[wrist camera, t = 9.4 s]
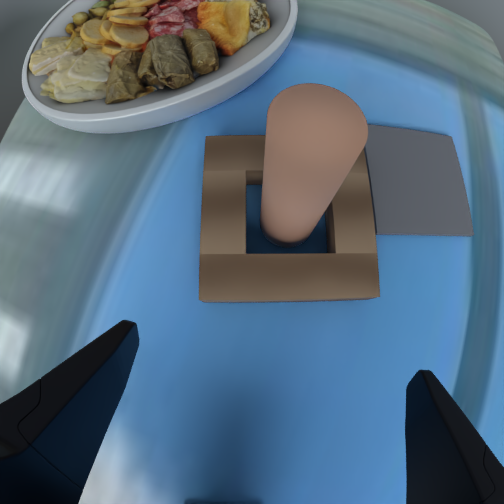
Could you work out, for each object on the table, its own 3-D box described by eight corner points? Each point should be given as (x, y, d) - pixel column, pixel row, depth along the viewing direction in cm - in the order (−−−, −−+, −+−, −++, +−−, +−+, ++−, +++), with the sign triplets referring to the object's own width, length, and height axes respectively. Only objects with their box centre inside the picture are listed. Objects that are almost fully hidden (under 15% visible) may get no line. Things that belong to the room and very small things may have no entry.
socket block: (367, 299, 23) (379, 296, 21) (204, 302, 23) (198, 299, 21) (353, 154, 26) (362, 139, 23) (209, 152, 26) (205, 136, 23)
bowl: (253, 179, 25) (253, 123, 18) (2, 137, 27) (-36, 103, 19) (311, -7, 31) (318, -53, 24) (116, -16, 33) (103, -51, 25)
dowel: (320, 237, 24) (385, 151, 11) (270, 255, 24) (290, 177, 11) (301, 190, 25) (340, 77, 12) (252, 206, 25) (252, 94, 12)
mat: (470, 236, 24) (473, 234, 24) (375, 234, 24) (377, 232, 24) (449, 139, 26) (451, 136, 26) (359, 126, 26) (361, 123, 26)
